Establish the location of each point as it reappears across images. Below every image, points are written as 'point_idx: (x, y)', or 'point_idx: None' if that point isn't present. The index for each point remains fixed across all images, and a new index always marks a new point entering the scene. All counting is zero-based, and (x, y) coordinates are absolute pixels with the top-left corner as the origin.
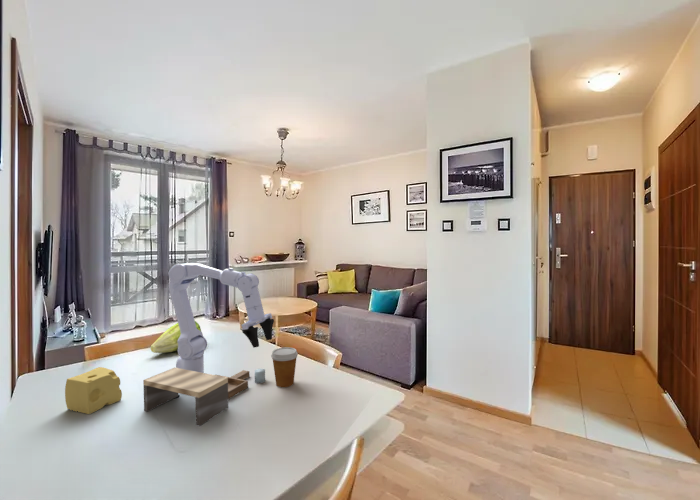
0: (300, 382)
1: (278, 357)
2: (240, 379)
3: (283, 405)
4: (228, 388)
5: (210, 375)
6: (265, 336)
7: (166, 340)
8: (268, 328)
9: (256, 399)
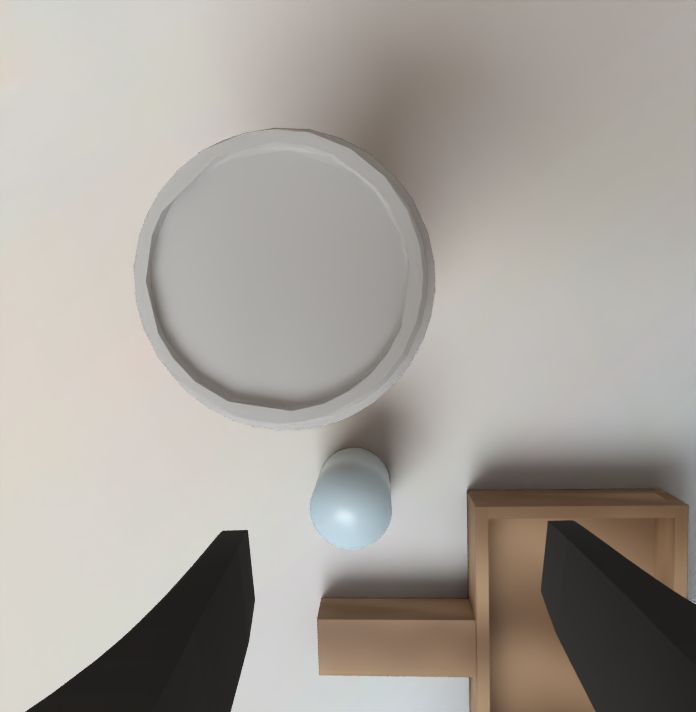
0: None
1: (426, 260)
2: (478, 571)
3: (588, 114)
4: None
5: None
6: (240, 658)
7: None
8: (186, 704)
9: (585, 325)
